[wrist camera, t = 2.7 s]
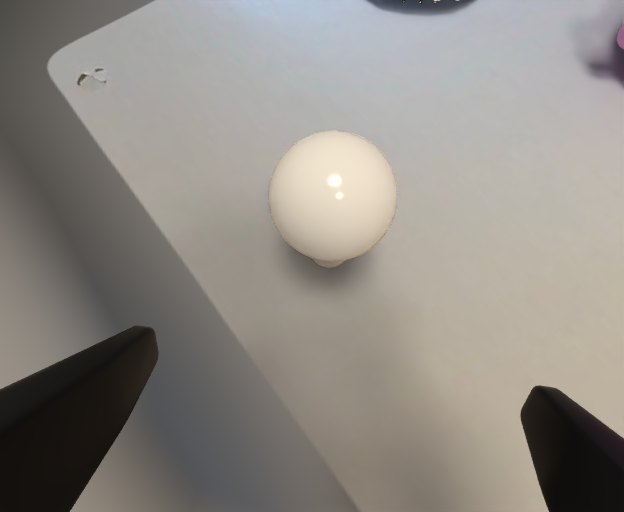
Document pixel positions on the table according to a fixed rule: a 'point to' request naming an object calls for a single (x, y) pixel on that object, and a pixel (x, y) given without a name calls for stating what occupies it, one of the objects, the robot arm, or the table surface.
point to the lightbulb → (333, 196)
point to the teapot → (621, 37)
